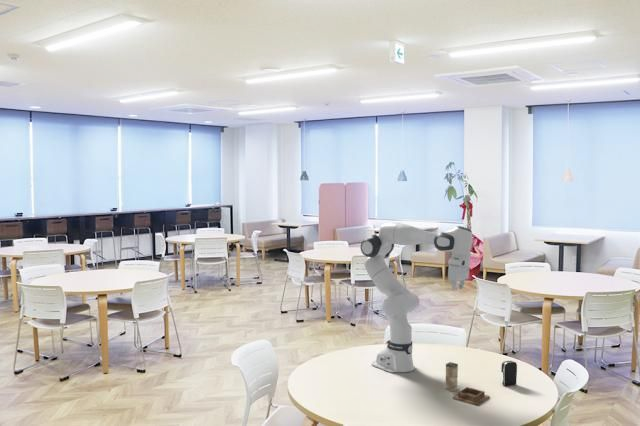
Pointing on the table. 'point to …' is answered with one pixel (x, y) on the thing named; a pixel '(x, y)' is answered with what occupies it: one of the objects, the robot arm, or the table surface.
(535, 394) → the table surface
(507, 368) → the battery charger
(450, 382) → the tall wooden pillar
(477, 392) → the dock
